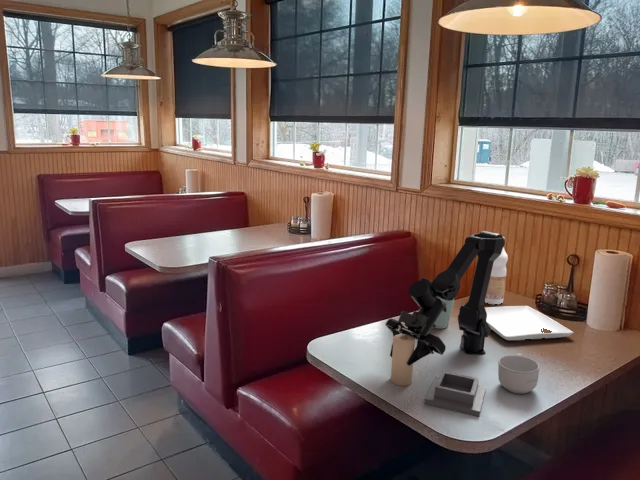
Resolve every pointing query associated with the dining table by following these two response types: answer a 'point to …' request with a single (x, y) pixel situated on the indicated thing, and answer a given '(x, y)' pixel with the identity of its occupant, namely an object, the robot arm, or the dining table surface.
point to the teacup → (518, 373)
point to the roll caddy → (456, 393)
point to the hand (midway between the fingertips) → (399, 360)
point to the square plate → (523, 323)
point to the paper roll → (402, 359)
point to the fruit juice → (497, 280)
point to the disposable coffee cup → (444, 314)
